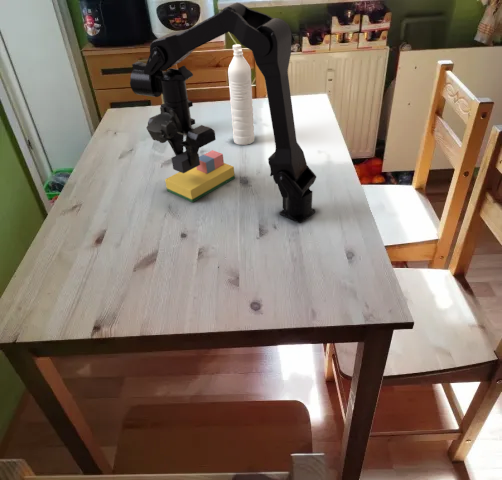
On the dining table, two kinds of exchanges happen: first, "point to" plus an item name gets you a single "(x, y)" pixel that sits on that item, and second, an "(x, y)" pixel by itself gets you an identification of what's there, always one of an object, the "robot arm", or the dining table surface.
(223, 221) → the dining table surface
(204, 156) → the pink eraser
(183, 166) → the grey eraser
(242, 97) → the water bottle
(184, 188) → the sponge
